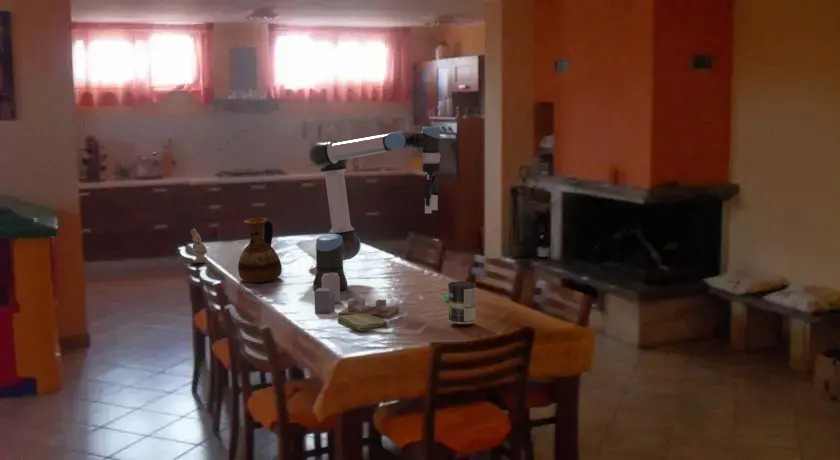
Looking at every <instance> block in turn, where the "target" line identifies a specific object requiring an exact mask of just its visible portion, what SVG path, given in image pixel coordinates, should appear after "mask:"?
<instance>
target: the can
mask: <svg viewBox="0 0 840 460" xmlns="http://www.w3.org/2000/svg"><path fill="white" fill-rule="evenodd" d="M321 281H322V288H334V304H337V303H339V302H340V301H341V290H340V277H339V276H338V273H324V274H323V276H322V278H321Z"/></svg>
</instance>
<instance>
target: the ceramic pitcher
mask: <svg viewBox="0 0 840 460" xmlns="http://www.w3.org/2000/svg"><path fill="white" fill-rule="evenodd" d="M243 223H244V224H245V225H246V226H247V227H248V229H249V234H250V239H249V244H247V246H245V247H244V249H243V250H242V252H241V254H240V257H239V260H238V265H237V266H238V267H237V271H238V272H237V273H238V276H239V277H240V279H241V280H243V281H245V282H247V281H248V283H252V282H260V283H266V282H270V281H273V280H275V279H277V278H279V277H280V276H281V275H282V268H283V267H282V263H281V260H280V258H279V255H278V253H277V252H276V251H275V249H274V248H273V247H272V242H273V236H274V235H273V233H274V226H273V223H272V222H271V220H270V219H268V218H267V217H262V216H261V217H253V218H249V219H245V220H243ZM265 281H266V282H265Z"/></svg>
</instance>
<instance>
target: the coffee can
mask: <svg viewBox="0 0 840 460" xmlns="http://www.w3.org/2000/svg"><path fill="white" fill-rule="evenodd" d="M447 286H448V289H447V290H448V295H449V302H448V322H449V323H451V324H454V325H455V324H456V325H469V324H475V322H477V320H476V315H477V313H476V309H477V307H476V303H477V302H476V296H477V295H476V294H477V293H476V290H477V289H476V288H477V284H476V282H473V281H467V280H466V281H465V280H464V281H463V280H462V281H461V280H460V281H459V280H458V281H453V282H449V283H448V285H447Z"/></svg>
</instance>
